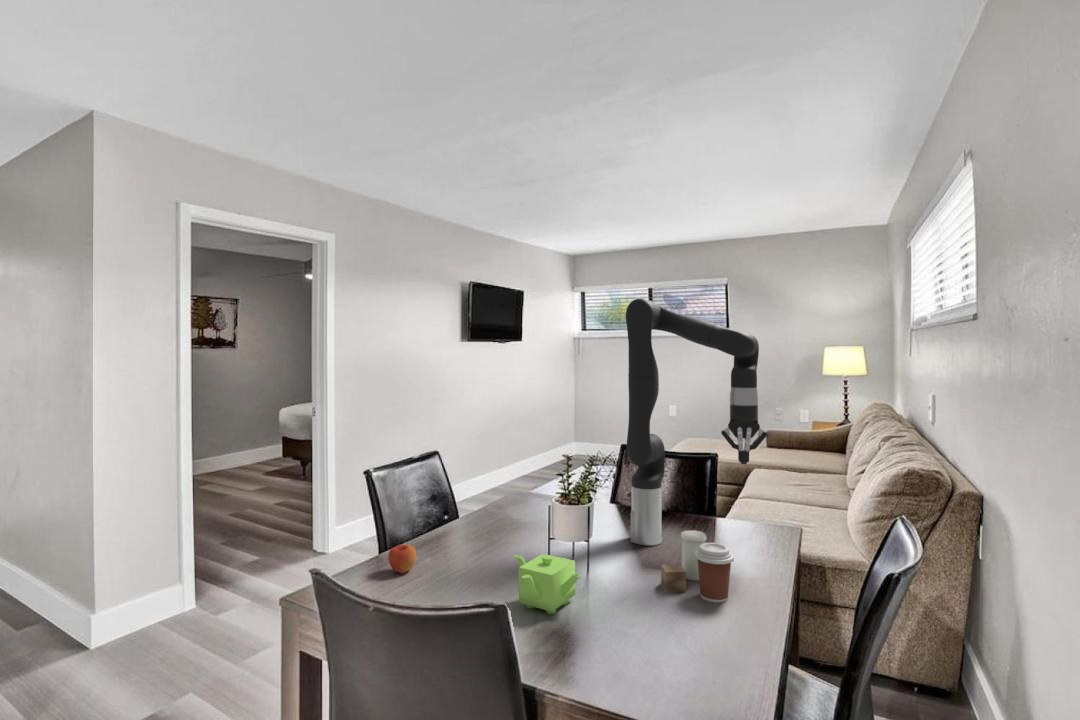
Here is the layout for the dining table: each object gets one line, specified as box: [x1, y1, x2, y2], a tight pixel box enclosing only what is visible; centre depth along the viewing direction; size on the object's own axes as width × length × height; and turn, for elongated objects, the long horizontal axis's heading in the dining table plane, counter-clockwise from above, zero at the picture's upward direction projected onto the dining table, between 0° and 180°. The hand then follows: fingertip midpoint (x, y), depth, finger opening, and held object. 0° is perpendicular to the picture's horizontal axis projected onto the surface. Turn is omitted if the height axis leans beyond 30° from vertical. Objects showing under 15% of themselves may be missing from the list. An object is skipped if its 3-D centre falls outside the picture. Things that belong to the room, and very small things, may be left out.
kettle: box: [513, 553, 581, 615], centre depth 133 cm, size 15×14×11 cm
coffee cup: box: [694, 542, 735, 604], centre depth 137 cm, size 9×9×12 cm
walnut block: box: [660, 563, 687, 593], centre depth 142 cm, size 5×5×5 cm
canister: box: [680, 530, 707, 581], centre depth 150 cm, size 6×6×11 cm
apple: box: [388, 543, 417, 575], centre depth 153 cm, size 7×7×8 cm
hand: (743, 463), depth 162 cm, fingers closed
